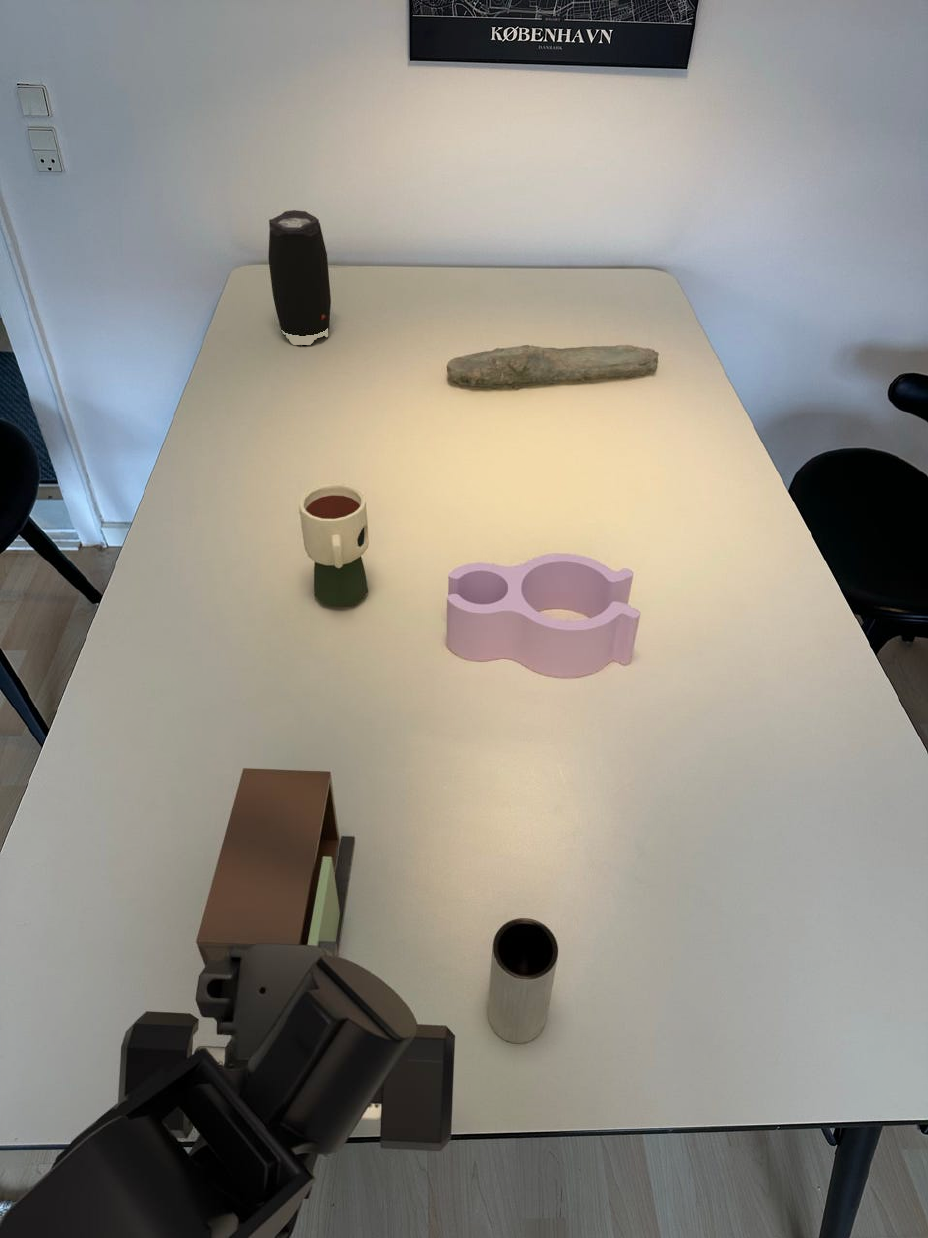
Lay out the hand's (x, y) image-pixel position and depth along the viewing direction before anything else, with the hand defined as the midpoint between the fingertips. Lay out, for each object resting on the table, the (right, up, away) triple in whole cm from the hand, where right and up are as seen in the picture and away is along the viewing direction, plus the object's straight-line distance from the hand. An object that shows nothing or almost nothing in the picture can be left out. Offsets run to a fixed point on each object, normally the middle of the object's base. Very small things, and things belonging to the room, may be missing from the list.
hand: (315, 1022), depth 60 cm
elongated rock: (+24, +66, +86) cm, 111 cm away
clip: (+18, +25, +40) cm, 51 cm away
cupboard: (-5, +2, +15) cm, 16 cm away
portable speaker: (-17, +75, +95) cm, 122 cm away
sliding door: (0, 0, +12) cm, 12 cm away
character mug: (-4, +29, +45) cm, 54 cm away
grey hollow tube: (+14, -4, +9) cm, 17 cm away
